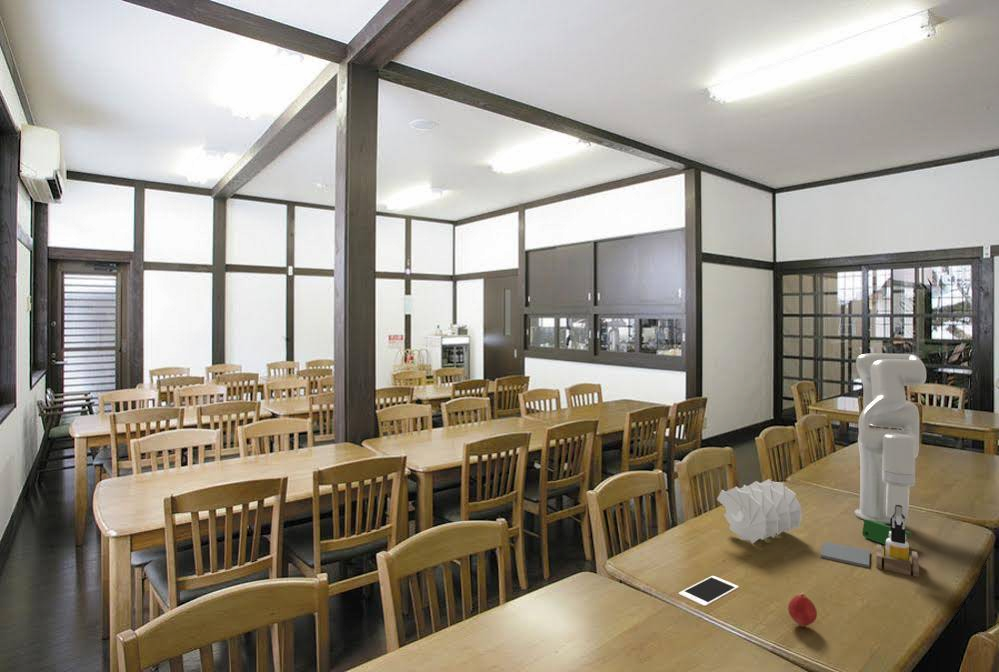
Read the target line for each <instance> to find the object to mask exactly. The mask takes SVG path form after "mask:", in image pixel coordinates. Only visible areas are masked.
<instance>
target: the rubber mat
mask: <svg viewBox="0 0 999 672" xmlns="http://www.w3.org/2000/svg"><path fill="white" fill-rule="evenodd" d="M820 551H821V552H820V558H821V559H826V560H829V561H830V560H831V561H835V562H840V563H844V564H850V565H854V566H858V567H864V568H867V569H869V568H870V555H871V553H870V552H871V551H870V549H865V548H860V547H856V546H850V545H847V544H846V545H845V544H839V543H834V542H830V541H825V540H824V541H823V542H822V546H821V550H820Z"/></svg>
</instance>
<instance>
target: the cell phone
mask: <svg viewBox="0 0 999 672" xmlns="http://www.w3.org/2000/svg"><path fill="white" fill-rule="evenodd" d="M739 588H740V587H739V585H737V584H735V583H733V582H730V581H727V580H725V579H723V578H721V577H718V576H715V575H711V576H709V577H707V578H705V579H702V580H701V581H699V582H697V583H695V584H693V585H690V587H689V586H688V587H687V588H685V589H683V590H681V591H679V592H678V595H680V596H682V597H684V598H686V599H688V600H690V601H692V602H695V603H696V604H699V605H700V606H703V607H707V606H708V605H710V604H712V603H714V602H716V601H717V600H719V599H721V598H724V596H726V595H729V594H730V593H732V592H734V591H735V590H737V589H739Z"/></svg>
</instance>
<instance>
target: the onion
mask: <svg viewBox="0 0 999 672" xmlns="http://www.w3.org/2000/svg"><path fill="white" fill-rule="evenodd" d="M787 610H788V613H789V616H790V618H791V619H792V620H793V621H794V622H795V623H796V624H797V625H798V626H800V627H801V628H805V627H808V626H809V625H811V624H813V623H815V620H816V619H817V617H818V612H817V608H816V606H815V604H814V603H813V601H812V600H811V599H810V598H809V597H807V596H806V594H805V593H804V592H801V593H800V594H797V595H795V596H793V597H792V598H791V600H789V603H788V605H787Z"/></svg>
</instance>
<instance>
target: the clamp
mask: <svg viewBox="0 0 999 672" xmlns="http://www.w3.org/2000/svg"><path fill="white" fill-rule="evenodd" d="M862 526H863V527H862V533H861V534H862V536H863V537H864V538H866V539H869V540H871V541H874V542H877V543H879V544H882V545H884V546H886V539H887V538H890V537H889V531H891V530H890V525H887V524H884V523H881V522H877V521H873V520H866V519H865V520H864V519H863V525H862ZM905 534H906V538H911V535H912V532H911V531H909V530H906V532H905Z"/></svg>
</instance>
